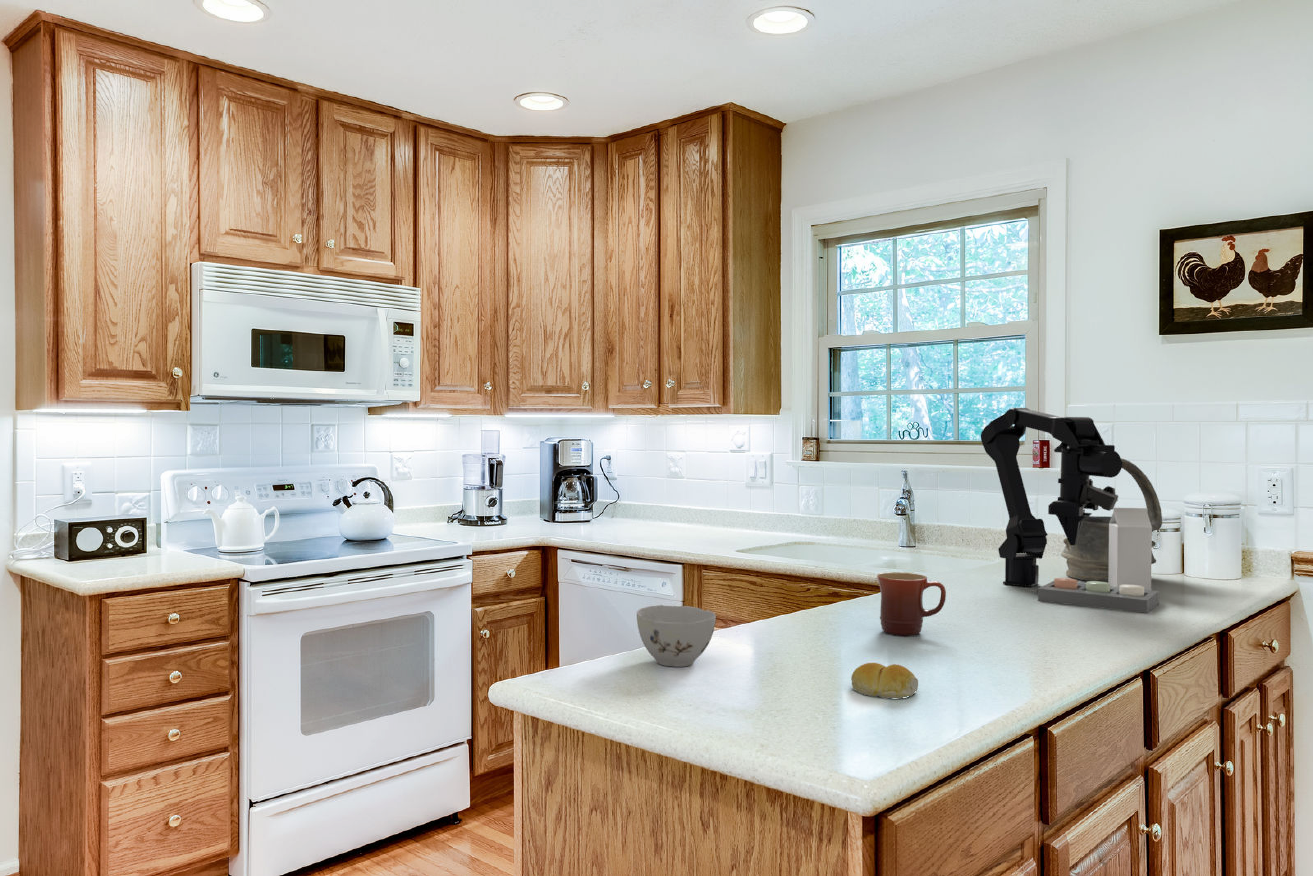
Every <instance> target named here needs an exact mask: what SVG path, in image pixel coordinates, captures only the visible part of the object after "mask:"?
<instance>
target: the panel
mask: <svg viewBox="0 0 1313 876" xmlns="http://www.w3.org/2000/svg"><path fill="white" fill-rule="evenodd" d="M1159 594H1160V591H1159V590H1153V589H1151V590H1144V597H1141V596H1132V595H1123V594H1119V587H1113V586H1110V593H1104V592H1094V591H1086V583H1084V582H1083V583H1082V582H1077V589H1066V588H1057V587H1054V580H1052V581H1050V582H1048V583H1046V584H1045V585H1042V586H1040V587H1038V588H1037V601H1039V602H1048V603H1050V602H1051V603H1056V604H1065V605H1072V606H1073V605H1075V606H1082V607H1091V608H1098V609H1099V608H1100V609H1108V610H1109V609H1110V610H1115V611H1116V610H1118V611H1123V612H1124V611H1126V612H1127V611H1128V612H1135V613H1140V614H1141V613H1144V614H1148V613H1149V612H1151V610H1153V609H1154V608H1156V606H1157V605H1158V604H1159V603H1160V601H1159V598H1160V597H1159V596H1160V595H1159Z"/></svg>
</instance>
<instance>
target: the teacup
mask: <svg viewBox="0 0 1313 876" xmlns="http://www.w3.org/2000/svg"><path fill="white" fill-rule="evenodd" d="M716 615H717V614H716V613H715V612H714V611H712V610H709V609H706V610H703V609H702V608H700V607H695V606H690V605H689V606H688V605H679V606H678V605H662V604H658V605H650V606H646V607H642V608H638V610H637V611H636V623H637V629H638V633H639V636H640V639H641V641H642V643H643V645H644V648H646V650H647V652H648V653H649V655H651V656H652V658H654V660H655V661H656V663H657V664H659V665H661V666H665V667H675V668H685V667H689V666H692V665H694V664H695V661H696V660H697V659H699V657H700V656H702V654H703V653H704V652H705V650H706V649H707V647H708V646H709V644H710V642H711V639H712V637H713V634H714V632H715V631H714V630H715V627H716V620H717V619H716V618H717V616H716Z"/></svg>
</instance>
